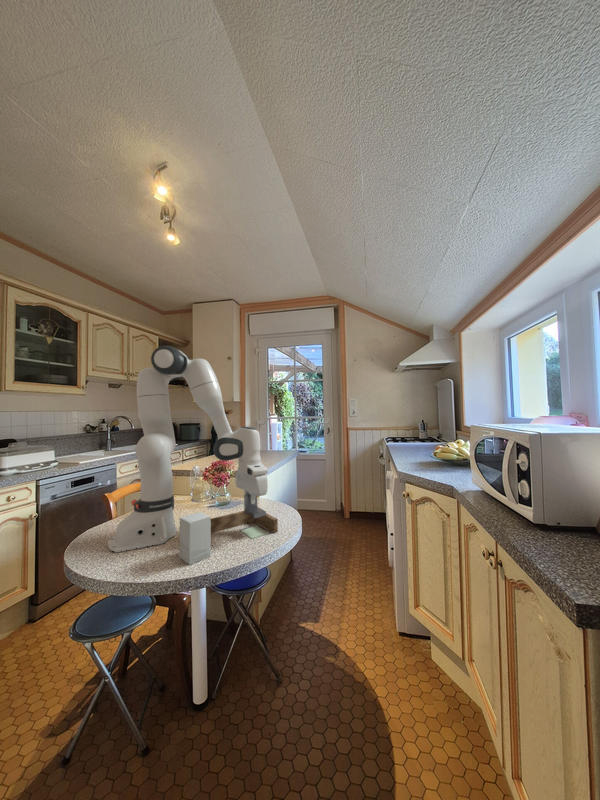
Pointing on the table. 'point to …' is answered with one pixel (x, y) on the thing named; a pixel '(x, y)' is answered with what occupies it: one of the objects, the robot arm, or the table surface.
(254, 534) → the mat
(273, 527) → the wooden corner frame
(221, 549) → the table surface
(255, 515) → the bracket
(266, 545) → the table surface
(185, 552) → the supplement box
